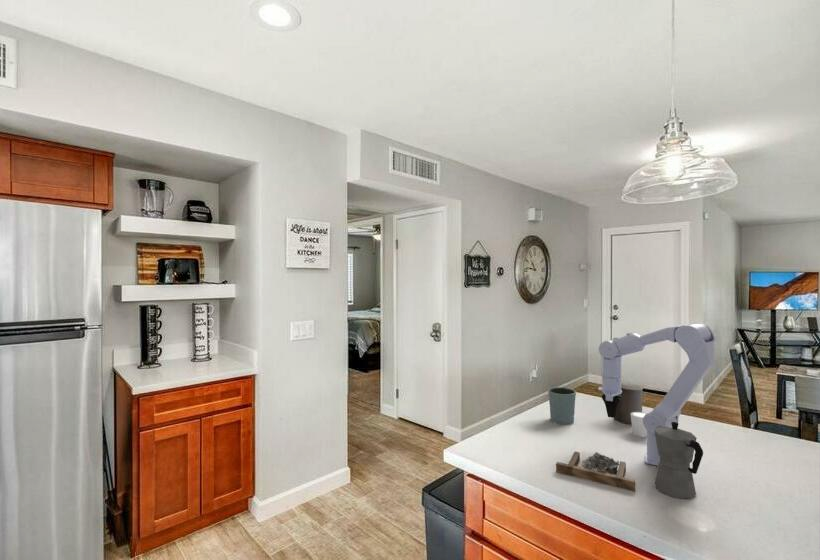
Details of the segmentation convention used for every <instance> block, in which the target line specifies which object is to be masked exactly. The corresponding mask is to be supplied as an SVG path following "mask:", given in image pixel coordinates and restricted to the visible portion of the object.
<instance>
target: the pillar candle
mask: <svg viewBox="0 0 820 560" xmlns="http://www.w3.org/2000/svg"><path fill="white" fill-rule="evenodd" d="M621 390H622V393H621V394H619V395H621V400H620V401H619V403H618V407H617V412H616V416H615V418H614V420H615V422H618V423H620V424H623V425H624V424H625V425H630V426H632V423H631V413H632V412H643V391H644V389H643V386H641V385H638V384H634V383H630V382H621Z"/></svg>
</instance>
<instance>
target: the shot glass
mask: <svg viewBox="0 0 820 560" xmlns="http://www.w3.org/2000/svg"><path fill="white" fill-rule="evenodd" d="M646 414H647V412H643V411H642V412H632V413H631V423H632V425H631V429H632V430H631V432H632V435H634V436H637V437H641V438H647V430H646V428H645V427H644V425H643V417H644V416H645V415H646Z"/></svg>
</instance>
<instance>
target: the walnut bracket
mask: <svg viewBox="0 0 820 560" xmlns="http://www.w3.org/2000/svg"><path fill="white" fill-rule="evenodd" d="M580 455H581V454H580V451H574V452H573V453H572V455H571V458H570V460H569V462H567V463H564V462H559V461H556V462H555V463H556V464H555V473H557V474H560V475H561V474H562V475H565V476H566V475H567V476H570V477H574V478H577V479H582V480H585V481H589V482H595V483H599V484H602V485H607V486H610V487H615V488H618V489H619V488H620V489H623V490H627V491H631V492H636V479H635V478H631V477H626V469H627V467H626V466H627V464H626V462H625V461H619V465H618V467H617V470H618V471H617V473H616V474H614V473H613V474H609V473H604V472H600V471H597V469H594V470H591V469H587V468H583V466H578V465H579V463H580V462H581V460H580V459H581V457H580Z"/></svg>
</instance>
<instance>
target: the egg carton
mask: <svg viewBox="0 0 820 560" xmlns="http://www.w3.org/2000/svg"><path fill="white" fill-rule="evenodd" d="M619 463H620V461H619V460H617V461H615V460H614V458H613V457H611V458H610V457H609V456H606V455H604V454H603V455H602V454H600V452H595V453H594V454H592V455H590V456H588V458H586V459H584V460H582V461H581V467H582V468H587V469H591V470H595V469H596V468H597V465H598V468H597V469H596V471H600V472H604V473H609V474H613V475H614V474H617V471H618V467H619Z"/></svg>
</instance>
